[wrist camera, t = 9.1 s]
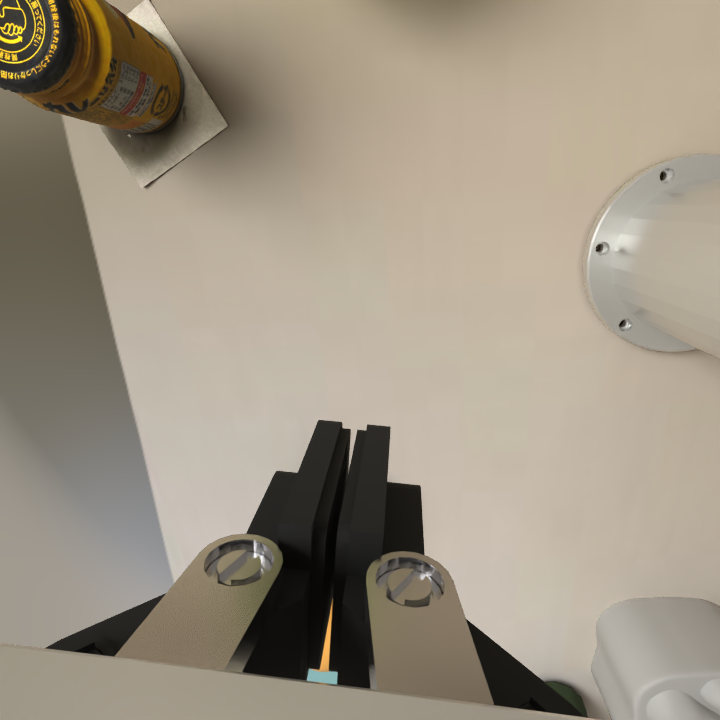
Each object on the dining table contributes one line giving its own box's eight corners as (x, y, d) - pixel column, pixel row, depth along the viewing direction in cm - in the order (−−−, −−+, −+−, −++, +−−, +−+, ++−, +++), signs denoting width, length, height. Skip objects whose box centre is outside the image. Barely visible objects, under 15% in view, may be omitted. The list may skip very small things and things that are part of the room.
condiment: (148, -2, 31) (7, -119, 20) (229, 126, 33) (143, 86, 22) (62, 70, 33) (-116, -1, 21) (144, 188, 35) (21, 182, 23)
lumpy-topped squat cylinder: (599, 595, 42) (650, 691, 34) (763, 597, 41) (856, 696, 33) (587, 690, 45) (631, 799, 37) (739, 694, 44) (819, 806, 36)
